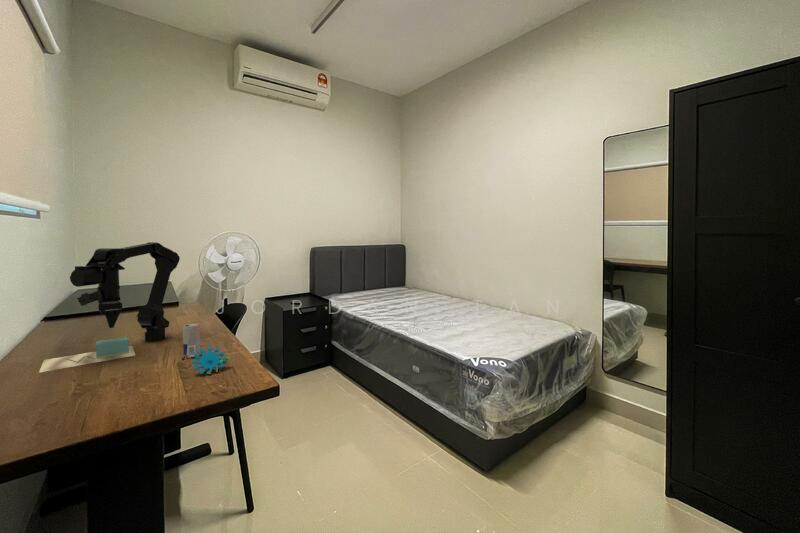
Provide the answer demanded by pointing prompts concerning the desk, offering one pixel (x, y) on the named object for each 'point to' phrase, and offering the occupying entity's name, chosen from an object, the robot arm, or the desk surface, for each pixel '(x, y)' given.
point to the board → (79, 360)
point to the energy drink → (191, 339)
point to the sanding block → (112, 347)
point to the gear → (209, 360)
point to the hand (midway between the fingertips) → (111, 325)
